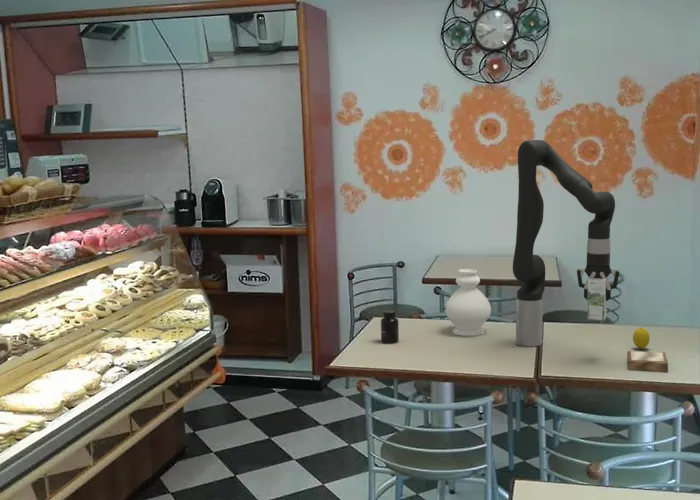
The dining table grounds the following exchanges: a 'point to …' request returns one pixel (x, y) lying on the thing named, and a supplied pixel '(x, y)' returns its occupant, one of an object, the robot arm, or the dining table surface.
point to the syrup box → (596, 299)
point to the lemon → (641, 338)
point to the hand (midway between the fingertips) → (597, 299)
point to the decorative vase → (468, 305)
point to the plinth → (647, 361)
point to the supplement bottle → (389, 327)
